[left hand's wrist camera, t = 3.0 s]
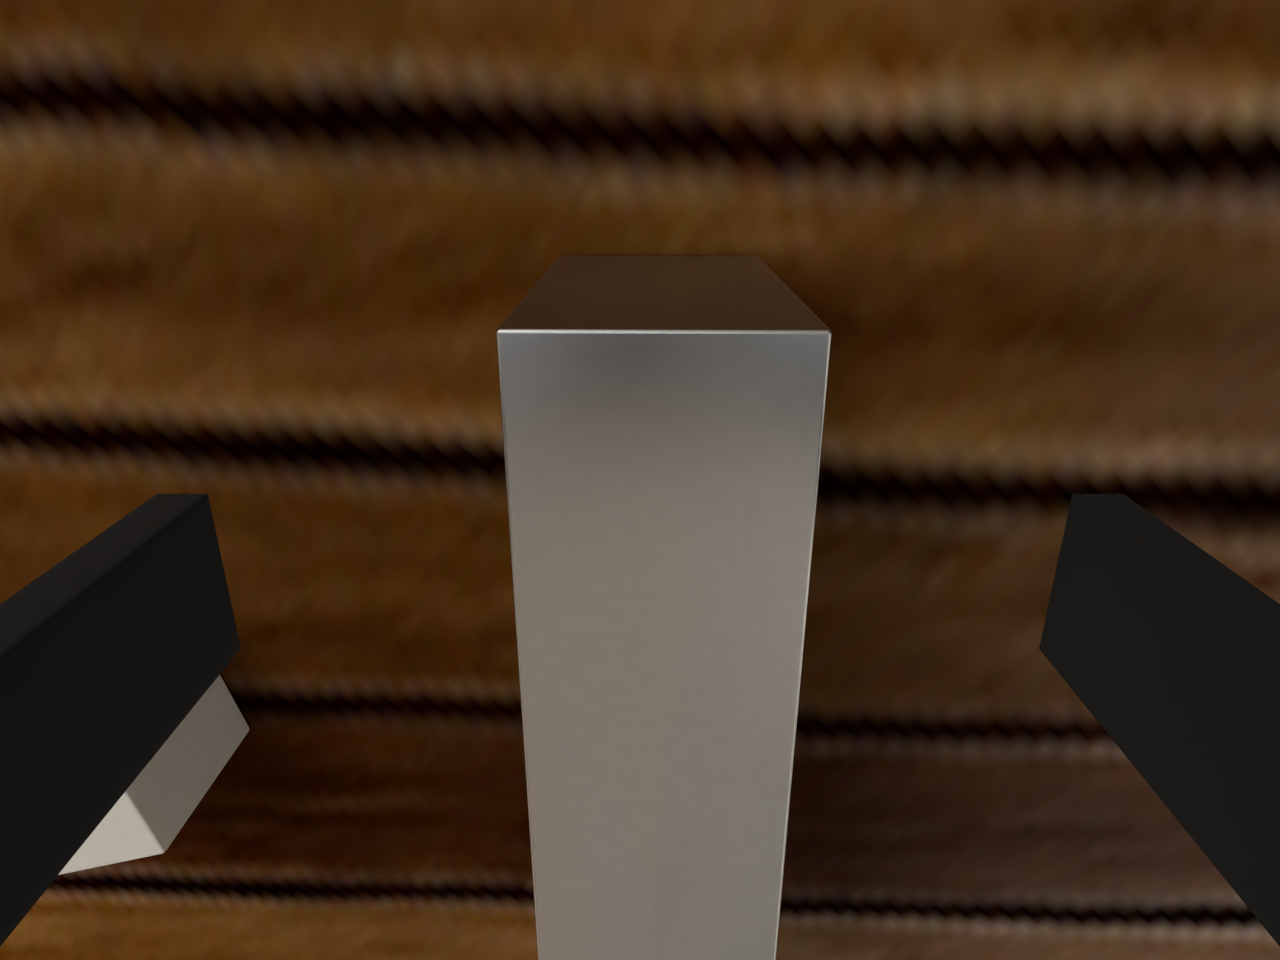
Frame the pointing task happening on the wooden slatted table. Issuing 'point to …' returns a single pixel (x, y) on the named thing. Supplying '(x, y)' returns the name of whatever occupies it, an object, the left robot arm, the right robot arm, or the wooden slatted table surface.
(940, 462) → the wooden slatted table surface
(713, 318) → the beam
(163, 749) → the plastic block
